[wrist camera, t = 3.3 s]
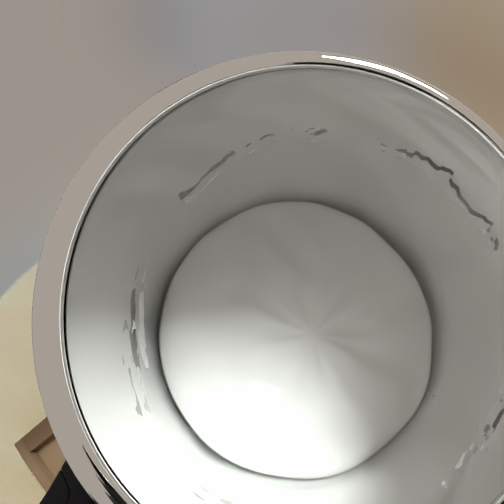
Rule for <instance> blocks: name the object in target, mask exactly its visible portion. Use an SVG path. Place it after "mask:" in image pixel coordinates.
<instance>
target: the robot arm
mask: <svg viewBox="0 0 504 504" xmlns="http://www.w3.org/2000/svg"><path fill="white" fill-rule="evenodd" d="M40 504H96V503H95V502H94V501H93V500H92V498H91V497H90V496H89V494H88V493H87V492H86V490H85V489H84V488H83V486H82V485H81V483H80V482H79V480H78V479H77V478H76V476H75V474H74V473H73V471H72V469H71V468H70V466H69V464H68V463H67V461H66V460H65V462H64V464H63V465H62V467H61V470H60V471H59V472H58V474H57V476H56V478H55V479H54V481H53V483H52V484H51V486H50V488H49V489H48V491H47V493H46V494H45V496H44V497H43V499H42V501H41V502H40Z"/></svg>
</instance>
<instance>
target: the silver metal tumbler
mask: <svg viewBox="0 0 504 504" xmlns="http://www.w3.org/2000/svg"><path fill="white" fill-rule="evenodd" d="M32 344H33V356H34V364H35V371H36V376H37V381H38V386H39V391H40V395H41V398H42V402H43V405H44V409H45V412H46V415H47V418H48V421H49V423H50V426H51V429H52V431H53V433H54V436H55V438H56V440H57V443H58V445H59V447H60V449H61V451H62V453H63V455H64V457H65V459H66V461H67V463H68V464H69V466H70V468H71V469H72V471H73V473H74V474H75V476H76V478H77V479H78V480H79V482H80V483H81V485H82V486H83V488H84V489H85V490H86V492H87V493H88V494H89V496H90V497H91V498H92V500H93V501H94V502H95V503H96V504H504V140H503V139H502V138H501V137H500V136H499V135H498V134H497V133H496V132H495V131H494V130H493V129H492V128H491V127H490V126H489V125H487V123H485V122H484V121H483V120H482V119H481V118H480V117H479V116H477V115H476V114H475V113H474V112H472V111H471V110H470V109H468V108H467V107H466V106H465V105H463V104H462V103H461V102H459V101H458V100H456V99H455V98H453V97H452V96H450V95H449V94H447V93H445V92H444V91H442V90H440V89H439V88H437V87H435V86H434V85H432V84H430V83H428V82H426V81H424V80H422V79H420V78H418V77H416V76H414V75H411V74H409V73H406V72H404V71H402V70H399V69H397V68H394V67H391V66H388V65H385V64H382V63H379V62H375V61H371V60H368V59H363V58H359V57H354V56H349V55H343V54H337V53H328V52H316V51H286V52H273V53H264V54H258V55H252V56H246V57H242V58H238V59H234V60H230V61H226V62H223V63H219V64H216V65H214V66H211V67H208V68H205V69H203V70H200V71H198V72H195V73H193V74H191V75H189V76H186V77H184V78H182V79H180V80H178V81H176V82H175V83H173V84H171V85H169V86H167V87H166V88H164V89H162V90H160V91H159V92H157V93H156V94H154V95H153V96H151V97H150V98H148V99H147V100H146V101H144V102H143V103H141V104H140V105H139V106H137V107H136V108H135V109H134V110H132V111H131V112H130V113H129V114H128V115H127V116H125V117H124V118H123V119H122V120H121V121H120V122H119V123H117V125H115V127H113V128H112V129H111V130H110V131H109V132H108V133H107V135H106V136H105V137H104V138H103V139H102V140H101V141H100V142H99V143H98V145H97V146H96V147H95V148H94V149H93V151H92V152H91V153H90V154H89V156H88V157H87V159H86V160H85V161H84V163H83V164H82V166H81V167H80V168H79V170H78V171H77V173H76V174H75V176H74V178H73V179H72V181H71V182H70V184H69V186H68V188H67V189H66V191H65V193H64V195H63V197H62V199H61V201H60V203H59V205H58V207H57V210H56V212H55V214H54V216H53V219H52V221H51V224H50V227H49V229H48V232H47V235H46V238H45V241H44V245H43V248H42V252H41V255H40V259H39V263H38V268H37V274H36V279H35V286H34V294H33V305H32Z"/></svg>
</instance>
